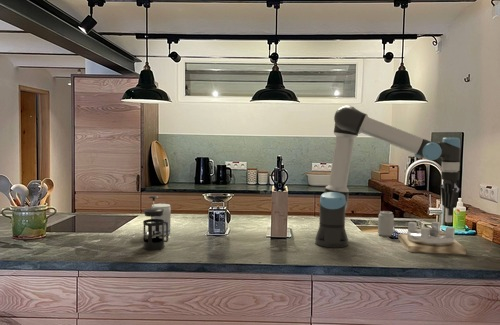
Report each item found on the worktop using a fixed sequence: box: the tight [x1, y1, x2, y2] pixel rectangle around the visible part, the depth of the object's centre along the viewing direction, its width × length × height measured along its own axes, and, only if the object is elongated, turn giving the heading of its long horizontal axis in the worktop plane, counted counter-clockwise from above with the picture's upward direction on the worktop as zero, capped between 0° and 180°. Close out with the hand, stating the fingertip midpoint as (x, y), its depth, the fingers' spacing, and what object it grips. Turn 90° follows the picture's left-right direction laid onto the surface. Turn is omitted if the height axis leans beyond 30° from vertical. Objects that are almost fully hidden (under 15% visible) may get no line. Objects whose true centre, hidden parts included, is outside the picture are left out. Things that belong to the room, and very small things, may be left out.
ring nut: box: [406, 221, 456, 246], centre depth 198 cm, size 20×20×7 cm
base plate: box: [397, 233, 467, 255], centre depth 198 cm, size 24×22×3 cm
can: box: [377, 210, 395, 237], centre depth 218 cm, size 8×8×12 cm
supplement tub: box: [150, 203, 172, 236], centre depth 214 cm, size 10×10×15 cm
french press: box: [142, 195, 169, 251], centre depth 189 cm, size 12×9×23 cm
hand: (448, 221), depth 198 cm, fingers closed
